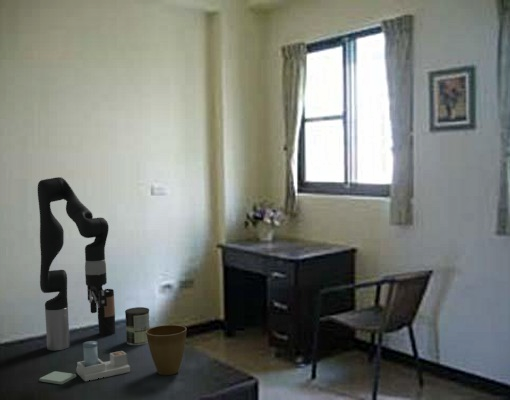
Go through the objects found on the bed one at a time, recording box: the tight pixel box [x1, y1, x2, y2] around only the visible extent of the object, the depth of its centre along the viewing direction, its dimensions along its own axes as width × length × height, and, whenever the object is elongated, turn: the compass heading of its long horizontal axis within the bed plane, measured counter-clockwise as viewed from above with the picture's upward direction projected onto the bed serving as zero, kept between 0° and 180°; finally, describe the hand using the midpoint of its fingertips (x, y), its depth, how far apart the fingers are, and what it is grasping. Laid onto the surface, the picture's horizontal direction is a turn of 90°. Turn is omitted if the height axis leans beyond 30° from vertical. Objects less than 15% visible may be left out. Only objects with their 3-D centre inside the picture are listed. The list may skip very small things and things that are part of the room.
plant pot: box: [146, 324, 187, 376], centre depth 230 cm, size 15×15×16 cm
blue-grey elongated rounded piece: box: [82, 340, 99, 367], centre depth 229 cm, size 5×5×10 cm
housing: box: [75, 350, 131, 382], centre depth 231 cm, size 11×17×6 cm, turn 122°
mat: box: [38, 371, 77, 385], centre depth 226 cm, size 10×8×1 cm
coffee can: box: [124, 306, 150, 346], centre depth 269 cm, size 10×10×14 cm
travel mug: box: [97, 288, 116, 337], centre depth 283 cm, size 8×8×20 cm
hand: (97, 315), depth 230 cm, fingers open, 8 cm apart
